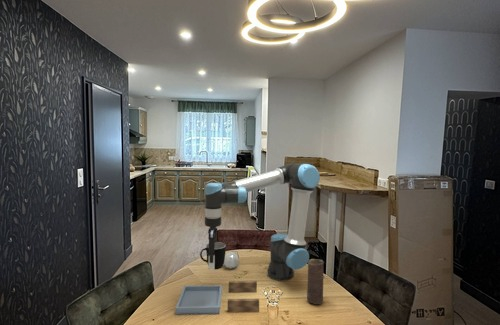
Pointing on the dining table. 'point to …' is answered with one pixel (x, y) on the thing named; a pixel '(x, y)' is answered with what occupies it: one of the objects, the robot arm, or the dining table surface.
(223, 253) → the mug
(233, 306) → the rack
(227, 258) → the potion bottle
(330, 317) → the dining table surface
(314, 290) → the candle
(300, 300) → the dining table surface
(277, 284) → the dining table surface
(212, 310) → the tray
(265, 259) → the dining table surface
